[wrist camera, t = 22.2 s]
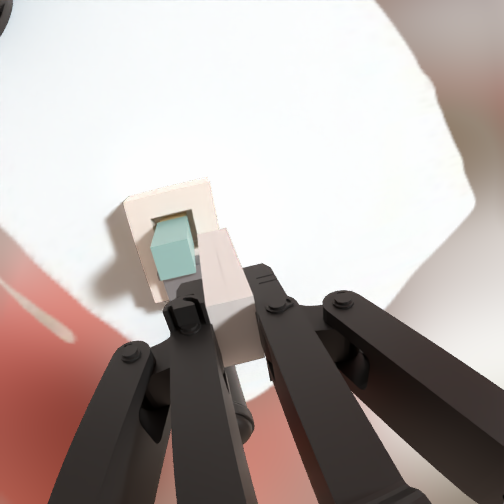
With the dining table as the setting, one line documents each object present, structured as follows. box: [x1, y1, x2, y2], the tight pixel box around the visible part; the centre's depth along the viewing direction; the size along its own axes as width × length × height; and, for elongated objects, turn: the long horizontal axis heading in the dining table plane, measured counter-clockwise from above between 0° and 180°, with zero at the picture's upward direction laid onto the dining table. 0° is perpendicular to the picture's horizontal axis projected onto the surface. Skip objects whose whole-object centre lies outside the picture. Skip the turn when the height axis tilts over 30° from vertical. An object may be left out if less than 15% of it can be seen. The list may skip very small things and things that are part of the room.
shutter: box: [157, 255, 202, 301], centre depth 42 cm, size 7×7×3 cm
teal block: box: [150, 212, 196, 281], centre depth 38 cm, size 4×4×12 cm
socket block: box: [123, 177, 219, 303], centre depth 43 cm, size 16×12×4 cm
